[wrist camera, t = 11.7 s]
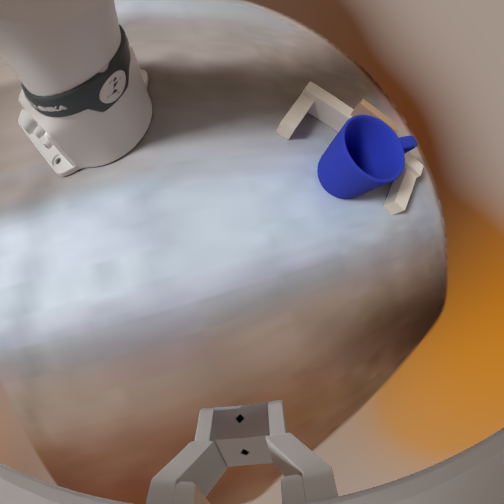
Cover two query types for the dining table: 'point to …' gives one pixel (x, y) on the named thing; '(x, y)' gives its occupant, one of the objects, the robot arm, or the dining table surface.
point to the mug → (363, 157)
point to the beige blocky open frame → (335, 117)
